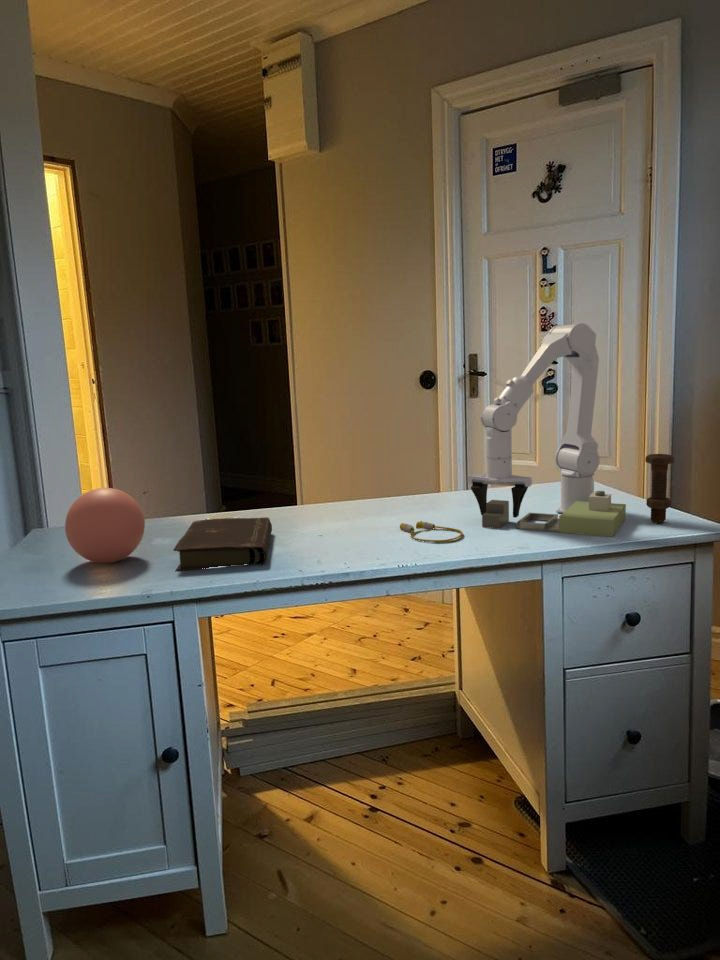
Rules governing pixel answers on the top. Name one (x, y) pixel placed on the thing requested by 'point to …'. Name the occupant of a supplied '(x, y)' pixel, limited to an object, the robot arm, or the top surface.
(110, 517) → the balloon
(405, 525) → the extension cord
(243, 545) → the diary
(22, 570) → the top surface
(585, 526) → the deck
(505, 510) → the stepped block
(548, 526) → the grey rectangular frame
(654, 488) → the bolt
